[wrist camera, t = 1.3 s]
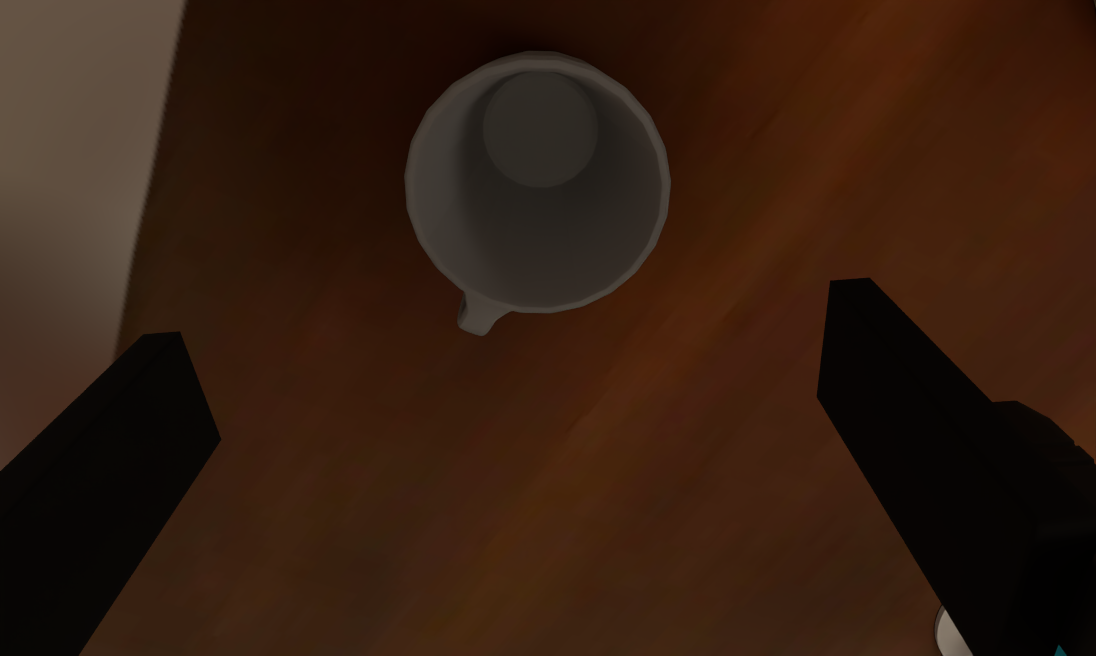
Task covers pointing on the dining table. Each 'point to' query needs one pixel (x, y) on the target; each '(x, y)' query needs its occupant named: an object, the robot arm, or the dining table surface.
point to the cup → (536, 186)
